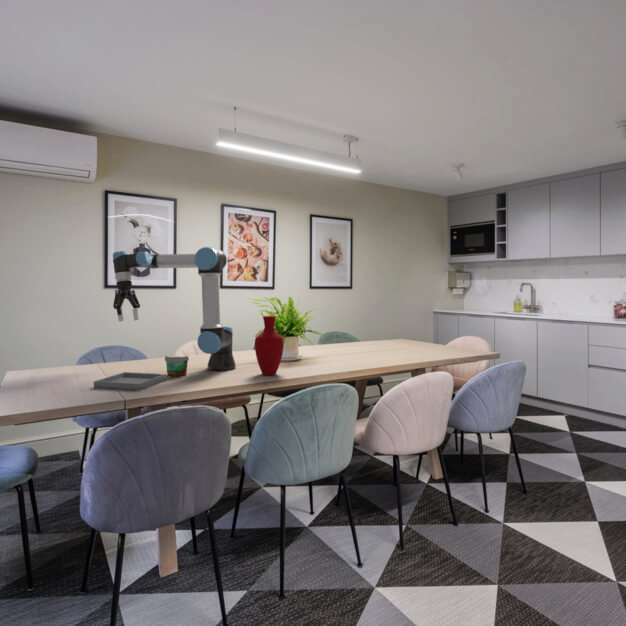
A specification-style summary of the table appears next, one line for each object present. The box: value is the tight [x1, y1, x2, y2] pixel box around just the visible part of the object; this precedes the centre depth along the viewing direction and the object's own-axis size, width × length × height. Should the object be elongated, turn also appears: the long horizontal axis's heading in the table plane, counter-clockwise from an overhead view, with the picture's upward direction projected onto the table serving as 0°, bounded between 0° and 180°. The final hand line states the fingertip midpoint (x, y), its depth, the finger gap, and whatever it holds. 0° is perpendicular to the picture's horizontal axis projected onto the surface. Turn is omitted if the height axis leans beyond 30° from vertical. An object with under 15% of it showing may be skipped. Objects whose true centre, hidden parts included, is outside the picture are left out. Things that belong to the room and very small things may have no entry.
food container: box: [164, 354, 190, 378], centre depth 220 cm, size 12×6×10 cm, turn 82°
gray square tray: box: [93, 371, 167, 391], centre depth 201 cm, size 22×22×3 cm
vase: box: [254, 315, 285, 376], centre depth 227 cm, size 15×15×30 cm
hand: (129, 320), depth 234 cm, fingers open, 13 cm apart
